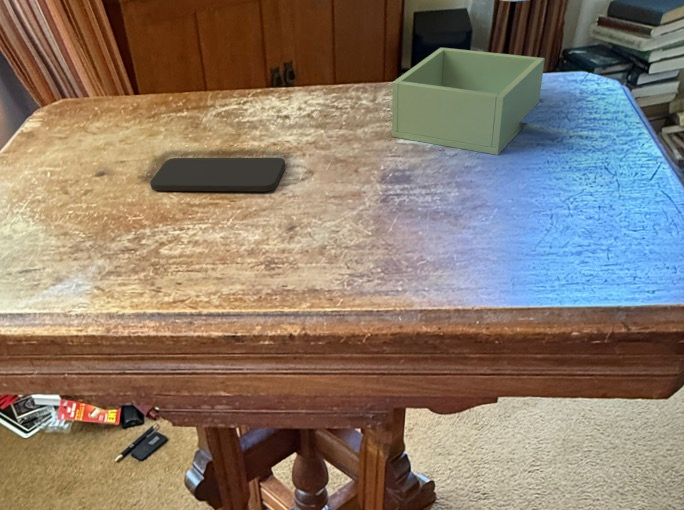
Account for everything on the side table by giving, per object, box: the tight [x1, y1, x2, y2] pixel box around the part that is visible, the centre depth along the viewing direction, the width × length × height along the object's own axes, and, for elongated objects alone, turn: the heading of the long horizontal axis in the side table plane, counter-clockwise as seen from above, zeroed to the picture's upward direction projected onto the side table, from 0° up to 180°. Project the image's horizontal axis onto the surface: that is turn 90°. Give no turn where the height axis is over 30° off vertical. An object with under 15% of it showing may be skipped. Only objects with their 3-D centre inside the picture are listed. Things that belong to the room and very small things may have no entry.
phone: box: [149, 157, 286, 192], centre depth 84 cm, size 7×1×15 cm
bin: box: [391, 47, 546, 156], centre depth 88 cm, size 14×14×7 cm
